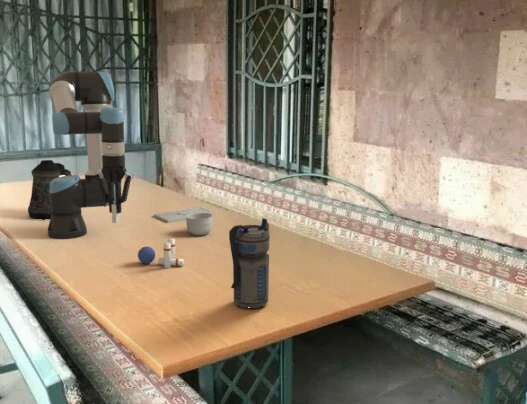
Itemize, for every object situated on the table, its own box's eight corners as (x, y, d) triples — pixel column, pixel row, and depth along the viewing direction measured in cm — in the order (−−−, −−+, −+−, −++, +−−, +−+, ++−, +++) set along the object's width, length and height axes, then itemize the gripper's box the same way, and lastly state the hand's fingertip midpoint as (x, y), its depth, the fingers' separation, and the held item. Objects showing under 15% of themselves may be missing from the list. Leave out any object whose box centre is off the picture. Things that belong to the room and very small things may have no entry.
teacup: (208, 238, 247) (208, 218, 245) (182, 236, 249) (182, 217, 247) (217, 229, 260) (217, 211, 258) (193, 227, 262) (192, 209, 260)
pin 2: (167, 263, 214) (166, 240, 212) (169, 261, 217) (168, 238, 215) (174, 264, 214) (173, 240, 212) (176, 262, 216) (175, 238, 214)
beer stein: (20, 217, 273) (16, 162, 268) (50, 208, 291) (47, 156, 286) (49, 221, 267) (46, 165, 262) (78, 212, 285) (76, 159, 280)
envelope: (153, 218, 280) (168, 224, 269) (153, 213, 279) (168, 219, 269) (199, 210, 294) (214, 216, 283) (199, 206, 293) (214, 211, 282)
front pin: (157, 259, 211) (181, 260, 210) (160, 256, 214) (183, 257, 212) (158, 266, 212) (182, 267, 211) (160, 263, 214) (184, 264, 213)
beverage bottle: (219, 304, 179) (220, 221, 173) (255, 294, 187) (256, 214, 182) (240, 315, 171) (241, 228, 166) (277, 304, 179) (279, 221, 174)
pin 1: (162, 268, 209) (162, 244, 207) (165, 266, 212) (164, 242, 210) (169, 268, 209) (169, 244, 207) (172, 266, 211) (171, 242, 209)
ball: (156, 260, 211) (141, 268, 211) (159, 257, 217) (144, 264, 217) (148, 245, 210) (132, 252, 211) (151, 242, 216) (136, 249, 216)
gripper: (90, 155, 204) (93, 223, 210) (127, 156, 203) (129, 225, 208) (99, 152, 212) (102, 218, 217) (135, 153, 210) (137, 220, 215)
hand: (115, 222), depth 212 cm, fingers closed
